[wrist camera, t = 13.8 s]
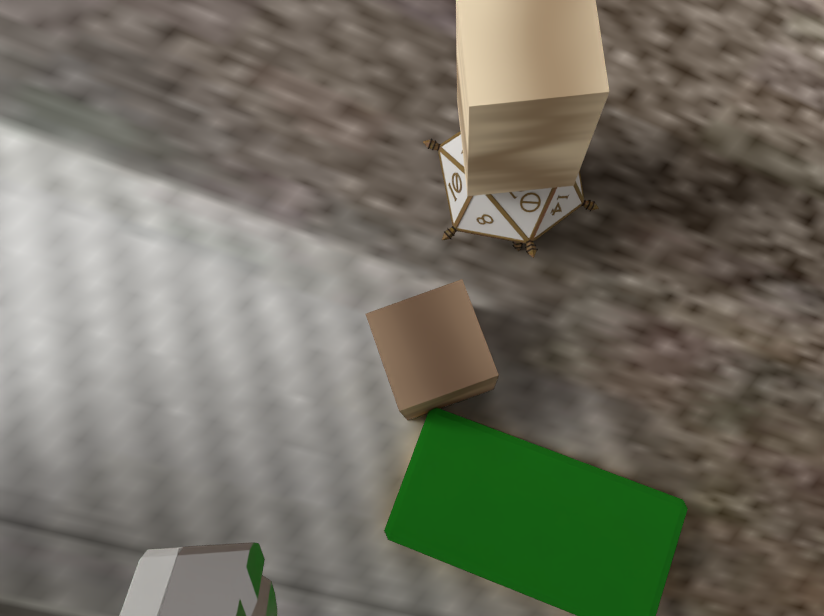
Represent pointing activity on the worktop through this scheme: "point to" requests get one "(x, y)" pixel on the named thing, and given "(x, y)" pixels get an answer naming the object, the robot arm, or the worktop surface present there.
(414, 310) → the walnut block
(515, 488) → the dish sponge
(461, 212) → the game die
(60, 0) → the worktop surface
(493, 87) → the maple block
